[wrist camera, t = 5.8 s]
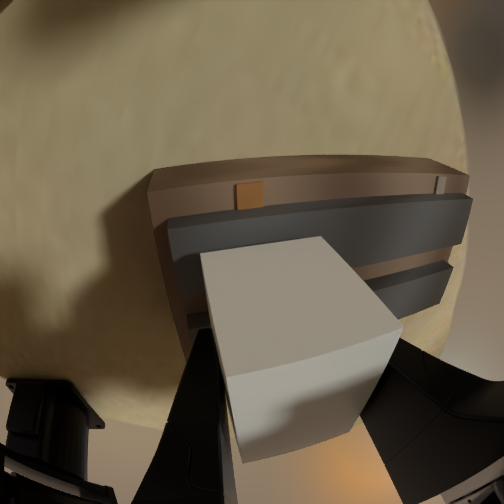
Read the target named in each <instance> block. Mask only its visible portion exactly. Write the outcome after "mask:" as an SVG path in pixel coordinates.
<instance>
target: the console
mask: <svg viewBox="0 0 504 504" xmlns="http://www.w3.org/2000/svg"><path fill="white" fill-rule="evenodd" d="M468 181H469V175H467V174H465V173H463V172H461V171H458V170H456V169H454V168H451V167H449V166H447V165H444V164H442V163H439V162H437V161H434V160H432V159H427V158H414V157H398V156H375V155H301V156H277V157H260V158H247V159H235V160H224V161H214V162H205V163H196V164H188V165H181V166H173V167H166V168H160V169H154V172H153V175H152V178H151V181H150V184H149V187H148V190H147V197H148V203H149V209H150V214H151V220H152V225H153V230H154V236H155V241H156V246H157V250H158V255H159V260H160V264H161V269H162V273H163V277H164V282H165V286H166V290H167V294H168V298H169V302H170V306H171V310H172V313H173V317H174V321H175V325H176V328H177V332H178V335H179V339H180V342H181V346H182V349H183V352H184V355H185V359H186V362H187V360H188V357H189V354H190V351H191V348H192V346H193V343H194V340H195V337H196V334H197V331H198V330H199V329H203V328H209V327H210V328H211V322H210V316H209V310H208V304H207V298H206V291H205V284H204V278H203V271H202V264H201V256H200V253H206V252H213V251H220V250H226V249H233V248H240V247H247V246H254V245H261V244H268V243H275V242H282V241H289V240H296V239H303V238H310V237H317V236H321V237H322V238H323V239H324V240H325V241H326V242H327V243H328V244H329V245H330V246H331V247H332V248H333V249H334V250H335V251H336V252H337V253H338V254H339V255H340V256H341V257H342V259H343V260H344V261H345V262H346V263H347V264H348V265H349V266H350V267H351V268H352V269H353V270H354V271H355V272H356V273H357V275H358V276H359V277H360V278H361V279H362V280H363V281H364V282H365V283H366V284H367V285H368V287H369V288H370V289H371V290H372V291H373V292H374V293H375V294H376V295H377V297H378V298H379V299H380V300H381V301H382V302H383V303H384V304H385V306H386V307H387V308H388V309H389V310H390V311H391V312H392V314H393V315H394V316H395V317H396V318H397V319H401V318H403V317H406V316H409V315H411V314H414V313H417V312H419V311H422V310H424V309H427V308H429V307H432V306H434V305H437V304H439V303H440V301H441V298H442V296H443V294H444V291H445V289H446V286H447V283H448V281H449V278H450V275H451V273H452V270H453V267H452V266H451V265H450V264H449V263H447V262H448V259H449V256H450V253H451V250H452V247H453V246H454V245H458V244H461V243H462V239H463V236H464V232H465V229H466V225H467V222H468V218H469V214H470V210H471V205H472V201H473V199H472V198H471V197H469V196H467V195H466V192H467V187H468Z"/></svg>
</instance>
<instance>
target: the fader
mask: <svg viewBox="0 0 504 504" xmlns="http://www.w3.org/2000/svg"><path fill="white" fill-rule="evenodd" d="M200 256H201V264H202V271H203V278H204V284H205V291H206V298H207V304H208V310H209V316H210V322H211V328H212V330H213V335H214V339H215V344H216V348H217V353H218V358H219V363H220V369H221V374H222V379H223V385H224V390H225V395H226V402H227V406H228V410H229V414H230V418H231V422H232V426H233V430H234V434H235V438H236V441H237V445H238V448H239V452H240V456H241V460H242V463H247V462H252V461H256V460H261V459H265V458H269V457H273V456H277V455H281V454H285V453H288V452H291V451H295V450H299V449H302V448H305V447H308V446H311V445H314V444H317V443H320V442H323V441H326V440H329V439H332V438H334V437H337V436H340V435H342V434H345V433H347V432H349V431H350V429H351V428H352V426H353V425H354V423H355V421H356V420H357V418H358V416H359V415H360V413H361V411H362V410H363V408H364V406H365V405H366V403H367V401H368V399H369V398H370V396H371V394H372V392H373V390H374V389H375V387H376V385H377V383H378V381H379V379H380V377H381V375H382V373H383V371H384V369H385V367H386V365H387V363H388V361H389V359H390V357H391V355H392V353H393V351H394V349H395V347H396V344H397V342H398V340H399V338H400V335H401V333H402V331H403V328H404V326H403V325H402V324H401V323H400V322H399V320H398V319H397V318H396V317H395V316H394V315H393V314H392V312H391V311H390V310H389V309H388V308H387V307H386V306H385V304H384V303H383V302H382V301H381V300H380V299H379V298H378V297H377V295H376V294H375V293H374V292H373V291H372V290H371V289H370V288H369V287H368V285H367V284H366V283H365V282H364V281H363V280H362V279H361V278H360V277H359V276H358V275H357V273H356V272H355V271H354V270H353V269H352V268H351V267H350V266H349V265H348V264H347V263H346V262H345V261H344V260H343V259H342V257H341V256H340V255H339V254H338V253H337V252H336V251H335V250H334V249H333V248H332V247H331V246H330V245H329V244H328V243H327V242H326V241H325V240H324V239H323V238H322V237H321V236H317V237H310V238H303V239H296V240H289V241H282V242H275V243H268V244H261V245H254V246H247V247H240V248H233V249H226V250H220V251H213V252H206V253H200Z"/></svg>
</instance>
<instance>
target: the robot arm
mask: <svg viewBox="0 0 504 504" xmlns="http://www.w3.org/2000/svg"><path fill="white" fill-rule="evenodd" d="M6 386H7V387H8V388H9V389H10V390H11V392H12V393H13V394H14V395H13V398H12V402H11V406H10V410H9V415H8V419H7V424H6V429H7V430H8V435H7V440H6V446H5V445H3V444H1V443H0V504H118V503H117V500H116V497H115V493H114V490H113V488H112V487H109V486H101V485H98V484H94V483H91V482H88V481H87V457H88V432H89V429H104V428H105V423H104V421H103V420H102V419H101V418H100V417H99V416H98V415H97V413H96V412H95V411H94V410H93V409H92V408H91V407H90V405H89V404H88V403H87V402H86V401H85V399H84V398H83V397H82V396H81V395H80V393H79V392H78V391H77V389H76V388H75V387H74V386H73V384H72V383H70V382H68V381H64V380H23V379H7V381H6ZM360 417H361V419H362V421H363V423H364V425H365V426H366V429H367V431H368V432H369V435H370V437H371V438H372V440H373V443H374V445H375V447H376V449H377V451H378V452H379V455H380V457H381V459H382V461H383V463H384V464H385V467H386V469H387V471H388V473H389V475H390V477H391V480H392V482H393V484H394V486H395V488H396V490H397V492H398V494H399V496H400V498H401V500H402V502H403V504H419V503H421V502H423V501H426V500H428V499H430V498H432V497H435V496H437V495H439V494H441V496H442V497H443V499H444V501H445V503H446V504H504V381H489V380H486V379H483V378H480V377H478V376H476V375H473V374H471V373H469V372H466V371H464V370H461V369H459V368H457V367H455V366H452V365H450V364H448V363H446V362H444V361H441V360H440V359H438V358H436V357H434V356H432V355H430V354H429V353H427V352H425V351H421V349H419V348H417V347H416V346H414V345H412V344H410V343H408V342H407V341H405V340H403V339H401V338H399V340H398V342H397V344H396V347H395V349H394V351H393V353H392V355H391V357H390V359H389V361H388V363H387V365H386V367H385V369H384V371H383V373H382V375H381V377H380V379H379V381H378V383H377V385H376V387H375V389H374V390H373V392H372V394H371V396H370V398H369V399H368V401H367V403H366V405H365V406H364V408H363V410H362V411H361V413H360ZM4 467H7V468H9V469H11V470H12V471H15V472H12V473H11V474H9V473H7V472H5V471H4ZM16 472H17V473H16ZM18 473H19V474H18ZM20 474H21V475H20ZM22 475H23V476H22ZM24 476H25V477H24ZM27 477H28V478H27ZM29 478H30V479H29ZM31 479H32V480H31ZM34 480H35V481H34ZM36 481H37V482H36ZM39 482H40V483H39ZM41 483H42V484H41ZM44 484H45V485H44ZM46 485H47V486H46ZM49 486H50V487H49ZM52 487H53V488H52ZM54 488H55V489H54ZM57 489H58V490H57ZM60 490H61V491H60ZM63 491H64V492H63ZM66 492H67V493H66ZM69 493H70V494H69ZM72 494H73V495H72ZM76 495H77V496H76ZM79 496H80V497H79ZM131 504H238V502H237V494H236V488H235V479H234V471H233V462H232V454H231V445H230V435H229V425H228V415H227V404H226V395H225V390H224V385H223V379H222V374H221V369H220V363H219V358H218V353H217V348H216V344H215V339H214V335H213V330H212V328H210V327H209V328H203V329H199V330H198V331H197V334H196V337H195V340H194V343H193V346H192V348H191V351H190V354H189V357H188V360H187V363H186V366H185V369H184V372H183V374H182V377H181V380H180V383H179V386H178V389H177V392H176V395H175V398H174V401H173V404H172V407H171V410H170V413H169V416H168V419H167V423H166V425H165V428H164V431H163V434H162V437H161V440H160V442H159V445H158V448H157V451H156V453H155V455H154V457H153V459H152V462H151V464H150V466H149V468H148V470H147V472H146V474H145V476H144V478H143V481H142V482H141V484H140V487H139V488H138V491H137V493H136V495H135V497H134V499H133V501H132V502H131Z"/></svg>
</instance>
